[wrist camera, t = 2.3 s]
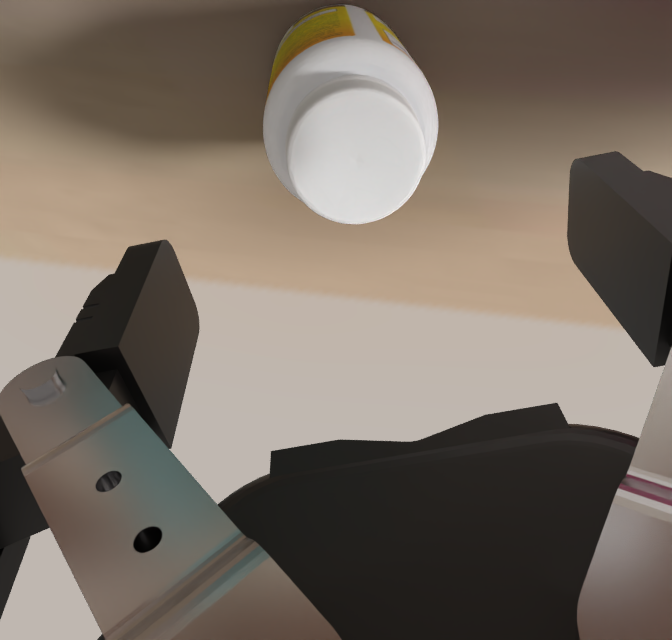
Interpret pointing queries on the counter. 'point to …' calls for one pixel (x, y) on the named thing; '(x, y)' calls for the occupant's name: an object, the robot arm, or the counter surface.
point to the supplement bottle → (348, 116)
